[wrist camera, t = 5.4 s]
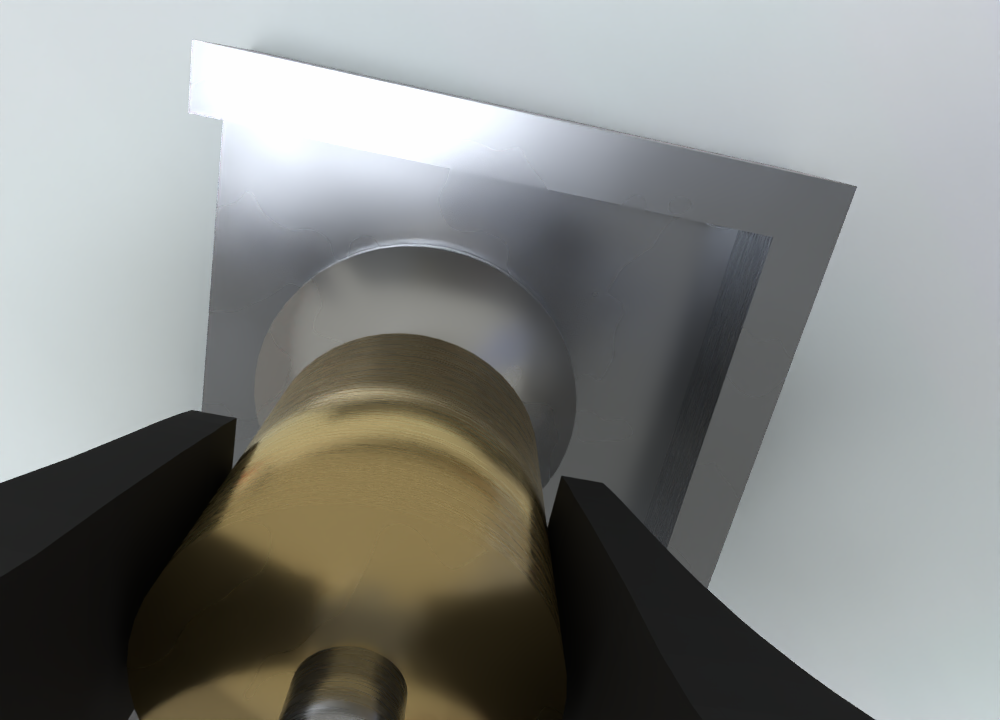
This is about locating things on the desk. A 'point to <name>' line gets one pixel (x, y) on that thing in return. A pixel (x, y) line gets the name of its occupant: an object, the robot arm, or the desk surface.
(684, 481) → the plate
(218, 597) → the cylinder
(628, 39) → the desk surface
